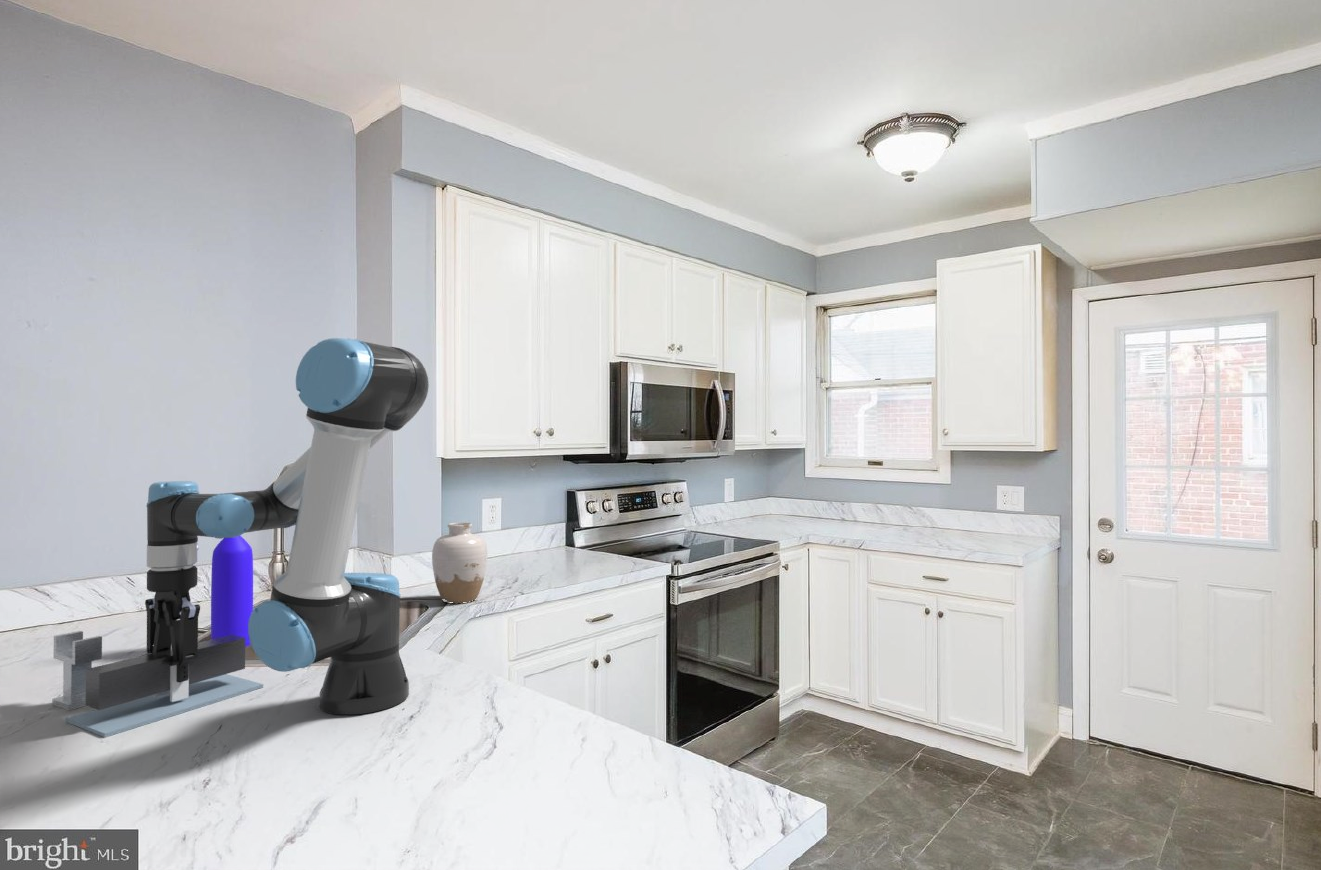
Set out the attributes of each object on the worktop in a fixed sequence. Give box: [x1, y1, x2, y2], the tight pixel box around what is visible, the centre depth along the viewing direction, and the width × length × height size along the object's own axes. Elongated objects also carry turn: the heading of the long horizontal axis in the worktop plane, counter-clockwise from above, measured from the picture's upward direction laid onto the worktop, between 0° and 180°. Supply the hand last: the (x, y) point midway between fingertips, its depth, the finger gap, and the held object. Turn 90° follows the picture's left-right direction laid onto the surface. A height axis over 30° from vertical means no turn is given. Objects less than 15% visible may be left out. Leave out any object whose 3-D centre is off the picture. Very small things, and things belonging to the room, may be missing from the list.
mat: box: [65, 673, 264, 738], centre depth 126 cm, size 13×26×1 cm, turn 152°
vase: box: [431, 522, 488, 604], centre depth 209 cm, size 16×16×23 cm
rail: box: [85, 635, 246, 710], centre depth 126 cm, size 24×4×6 cm, turn 152°
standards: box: [51, 619, 180, 711], centre depth 133 cm, size 8×21×12 cm, turn 152°
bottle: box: [210, 535, 254, 648], centre depth 162 cm, size 8×8×30 cm
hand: (171, 696), depth 126 cm, fingers closed on rail, 4 cm apart
